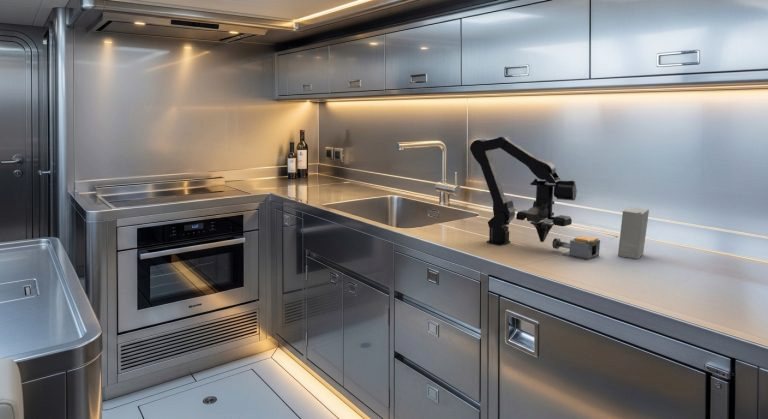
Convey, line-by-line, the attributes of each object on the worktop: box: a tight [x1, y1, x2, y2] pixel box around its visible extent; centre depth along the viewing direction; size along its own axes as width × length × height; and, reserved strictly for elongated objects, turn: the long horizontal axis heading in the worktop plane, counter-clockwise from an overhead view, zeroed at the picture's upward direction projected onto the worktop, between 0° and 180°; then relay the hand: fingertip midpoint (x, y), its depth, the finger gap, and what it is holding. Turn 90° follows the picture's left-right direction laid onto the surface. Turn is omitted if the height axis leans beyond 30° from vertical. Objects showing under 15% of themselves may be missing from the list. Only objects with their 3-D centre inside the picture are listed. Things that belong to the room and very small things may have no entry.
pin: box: [551, 237, 570, 250], centre depth 182 cm, size 11×4×4 cm, turn 44°
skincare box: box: [617, 206, 650, 260], centre depth 178 cm, size 8×7×16 cm
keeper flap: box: [573, 235, 599, 243], centre depth 178 cm, size 6×4×1 cm
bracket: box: [561, 236, 601, 261], centre depth 179 cm, size 9×8×6 cm
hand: (542, 241), depth 189 cm, fingers closed
